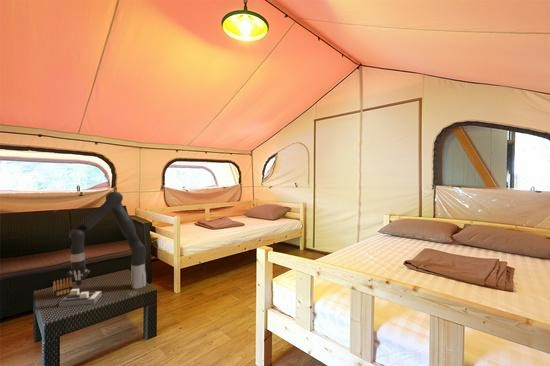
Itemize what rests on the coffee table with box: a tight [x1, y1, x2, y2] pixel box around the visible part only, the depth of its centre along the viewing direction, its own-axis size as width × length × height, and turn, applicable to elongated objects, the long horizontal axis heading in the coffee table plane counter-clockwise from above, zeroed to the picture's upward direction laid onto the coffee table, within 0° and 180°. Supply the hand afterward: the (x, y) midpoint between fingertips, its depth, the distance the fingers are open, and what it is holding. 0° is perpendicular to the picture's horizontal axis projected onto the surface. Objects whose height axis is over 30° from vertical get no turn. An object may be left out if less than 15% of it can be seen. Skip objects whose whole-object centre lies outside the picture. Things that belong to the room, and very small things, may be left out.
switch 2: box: [80, 290, 90, 298], centre depth 171 cm, size 4×3×3 cm
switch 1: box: [70, 288, 80, 295], centre depth 175 cm, size 4×3×3 cm
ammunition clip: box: [52, 276, 73, 299], centre depth 180 cm, size 11×2×12 cm, turn 138°
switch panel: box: [58, 289, 103, 308], centre depth 174 cm, size 20×12×4 cm, turn 103°
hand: (79, 285), depth 170 cm, fingers closed
